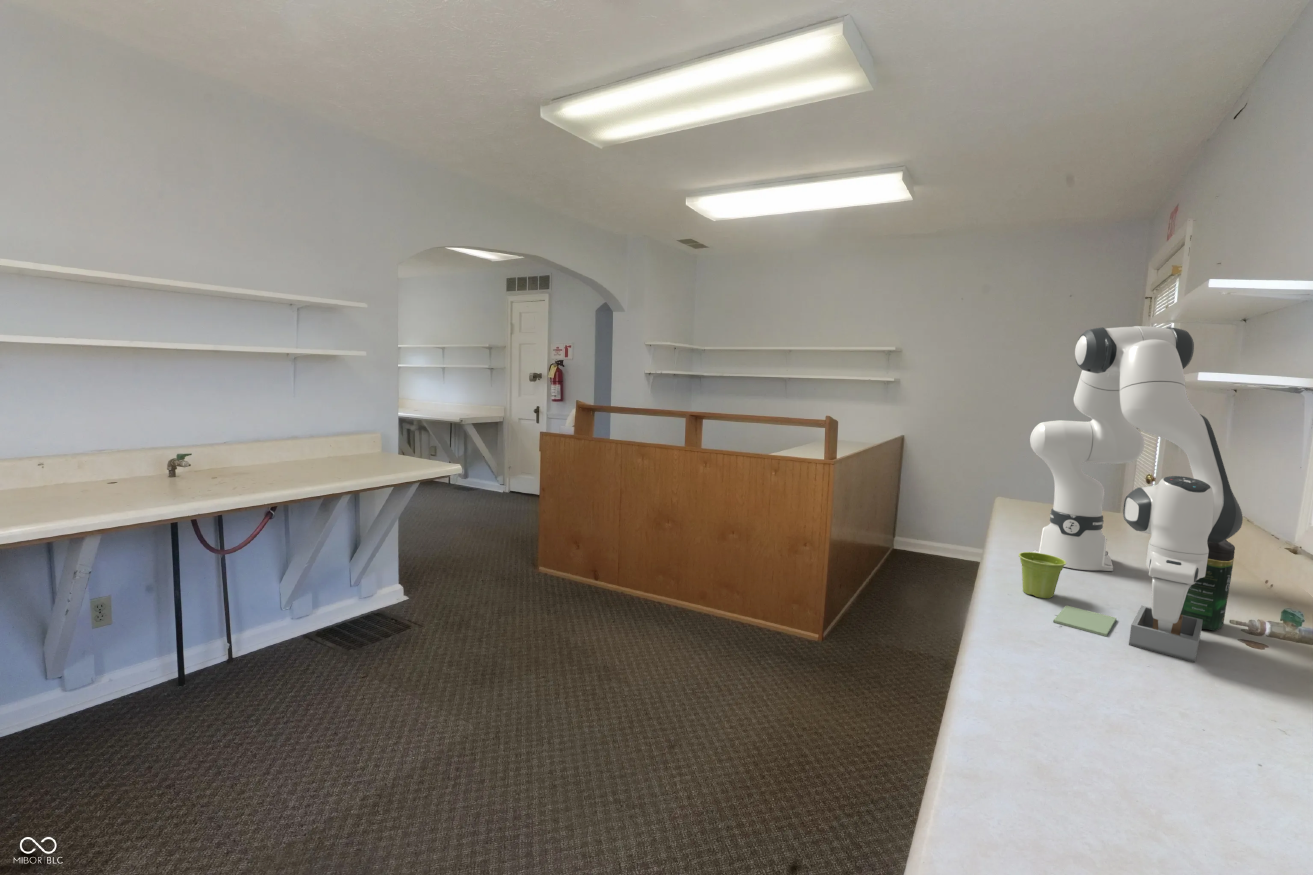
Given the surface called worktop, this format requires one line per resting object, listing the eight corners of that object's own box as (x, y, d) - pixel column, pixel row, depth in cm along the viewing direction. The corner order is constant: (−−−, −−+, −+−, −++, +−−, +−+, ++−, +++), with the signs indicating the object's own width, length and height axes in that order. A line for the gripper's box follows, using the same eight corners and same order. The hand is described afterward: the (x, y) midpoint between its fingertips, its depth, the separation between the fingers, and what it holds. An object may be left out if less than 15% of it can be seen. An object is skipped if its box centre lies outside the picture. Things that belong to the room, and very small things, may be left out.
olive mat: (1066, 607, 137) (1066, 605, 137) (1116, 619, 130) (1116, 617, 130) (1053, 622, 128) (1053, 619, 128) (1106, 636, 122) (1106, 633, 122)
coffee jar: (1219, 635, 124) (1232, 545, 122) (1169, 622, 130) (1181, 536, 128) (1227, 623, 131) (1239, 538, 129) (1178, 611, 137) (1190, 529, 135)
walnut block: (1153, 633, 123) (1156, 608, 123) (1179, 639, 120) (1183, 615, 120) (1151, 638, 120) (1154, 614, 120) (1177, 645, 117) (1181, 620, 117)
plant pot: (1048, 588, 149) (1052, 553, 148) (1070, 602, 140) (1074, 565, 139) (1007, 585, 150) (1011, 550, 149) (1027, 599, 141) (1030, 562, 140)
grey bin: (1139, 623, 129) (1141, 605, 128) (1199, 638, 122) (1202, 619, 122) (1128, 644, 118) (1131, 624, 118) (1194, 662, 112) (1197, 641, 111)
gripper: (1160, 548, 128) (1152, 612, 130) (1148, 569, 113) (1138, 641, 115) (1201, 555, 124) (1191, 621, 125) (1193, 578, 109) (1183, 652, 111)
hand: (1166, 631), depth 120 cm, fingers open, 8 cm apart
